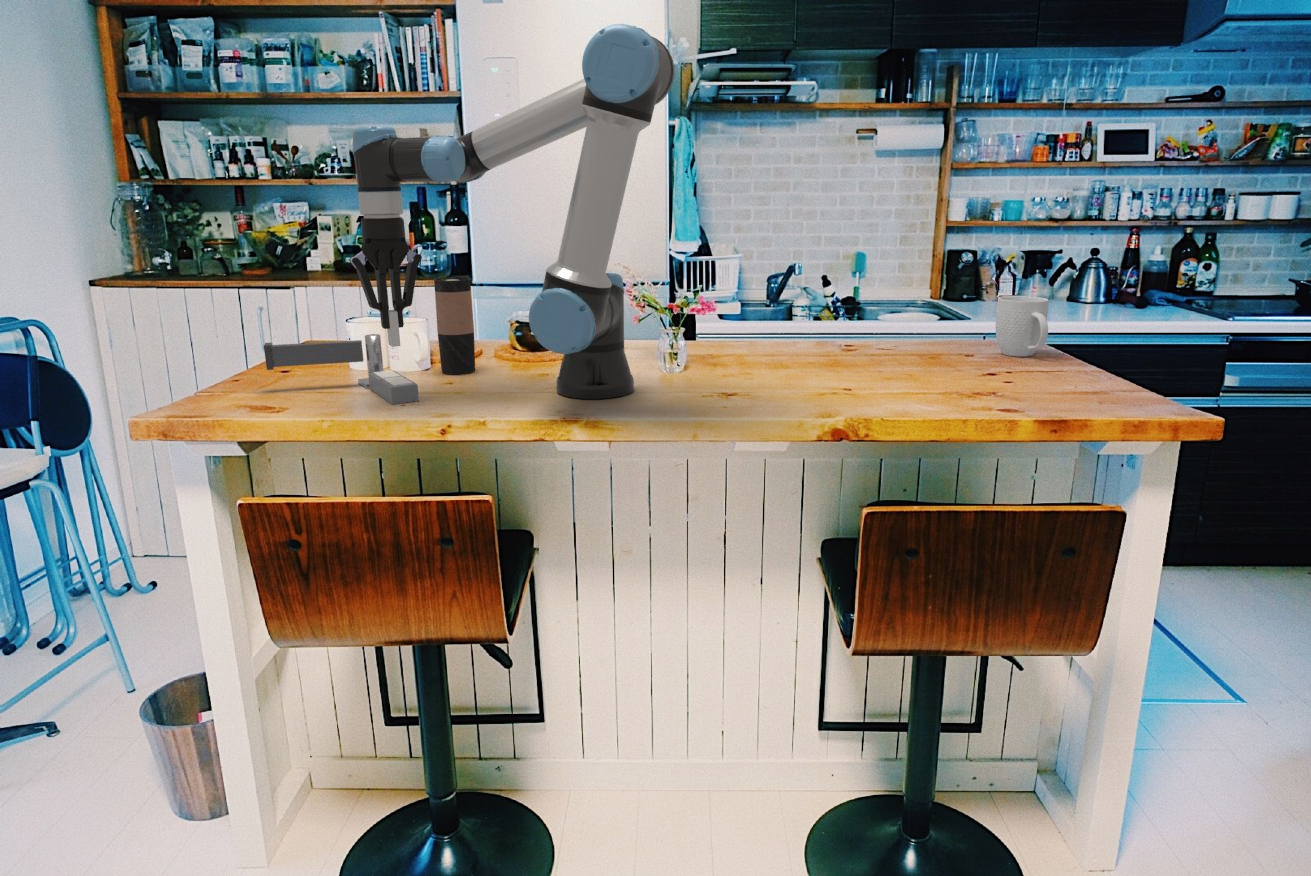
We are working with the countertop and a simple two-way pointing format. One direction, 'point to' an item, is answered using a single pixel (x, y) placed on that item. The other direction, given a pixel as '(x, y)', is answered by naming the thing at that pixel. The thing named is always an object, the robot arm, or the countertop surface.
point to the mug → (1021, 324)
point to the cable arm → (312, 353)
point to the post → (372, 357)
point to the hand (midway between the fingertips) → (394, 345)
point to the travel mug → (455, 325)
